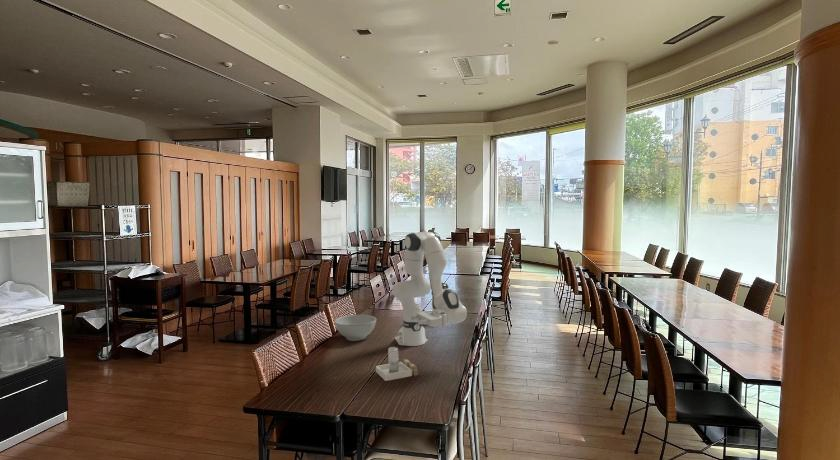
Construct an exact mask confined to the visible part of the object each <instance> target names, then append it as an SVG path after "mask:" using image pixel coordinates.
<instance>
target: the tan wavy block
mask: <svg viewBox="0 0 840 460" xmlns="http://www.w3.org/2000/svg"><path fill="white" fill-rule="evenodd" d="M402 363H403V364H405V365H406V366H407V367H409V368H410V369H411V370H412V376H418V372H419V371H418V367H417V365H415V364H414V363H413V362H411V361H410V360H409V359H407V358H403V359H402Z"/></svg>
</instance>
